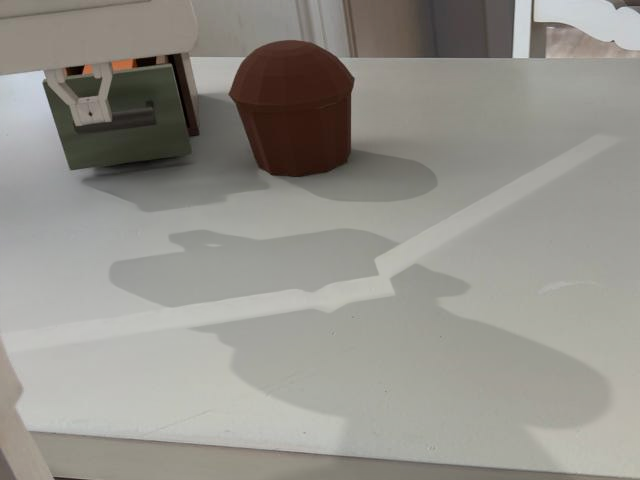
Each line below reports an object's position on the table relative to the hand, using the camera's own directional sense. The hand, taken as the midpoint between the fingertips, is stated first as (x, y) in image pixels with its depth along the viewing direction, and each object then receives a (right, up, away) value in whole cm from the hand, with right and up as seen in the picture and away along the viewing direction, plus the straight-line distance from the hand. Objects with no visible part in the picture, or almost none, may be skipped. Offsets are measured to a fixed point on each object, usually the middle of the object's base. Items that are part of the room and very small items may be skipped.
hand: (94, 122), depth 85 cm
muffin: (+16, +1, +12) cm, 20 cm away
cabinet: (-5, +11, +25) cm, 27 cm away
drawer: (-2, +4, +15) cm, 16 cm away
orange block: (-2, +5, +14) cm, 15 cm away
